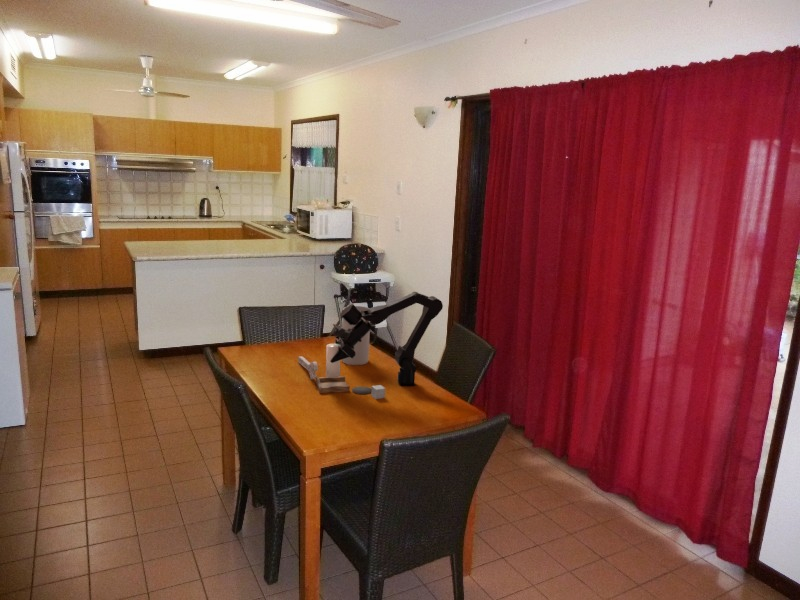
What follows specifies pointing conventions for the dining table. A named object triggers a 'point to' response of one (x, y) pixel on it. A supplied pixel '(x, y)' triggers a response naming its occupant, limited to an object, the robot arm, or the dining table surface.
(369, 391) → the coaster
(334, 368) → the white rounded tapered post
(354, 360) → the cylinder vase
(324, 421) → the dining table surface
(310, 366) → the wrench
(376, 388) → the block
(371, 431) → the dining table surface
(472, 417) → the dining table surface
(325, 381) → the bay
